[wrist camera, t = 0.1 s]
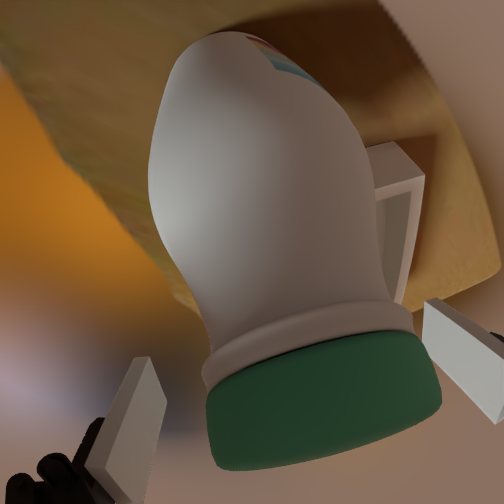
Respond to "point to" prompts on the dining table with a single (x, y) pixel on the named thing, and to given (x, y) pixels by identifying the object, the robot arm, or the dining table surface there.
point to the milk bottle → (281, 260)
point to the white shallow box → (396, 212)
